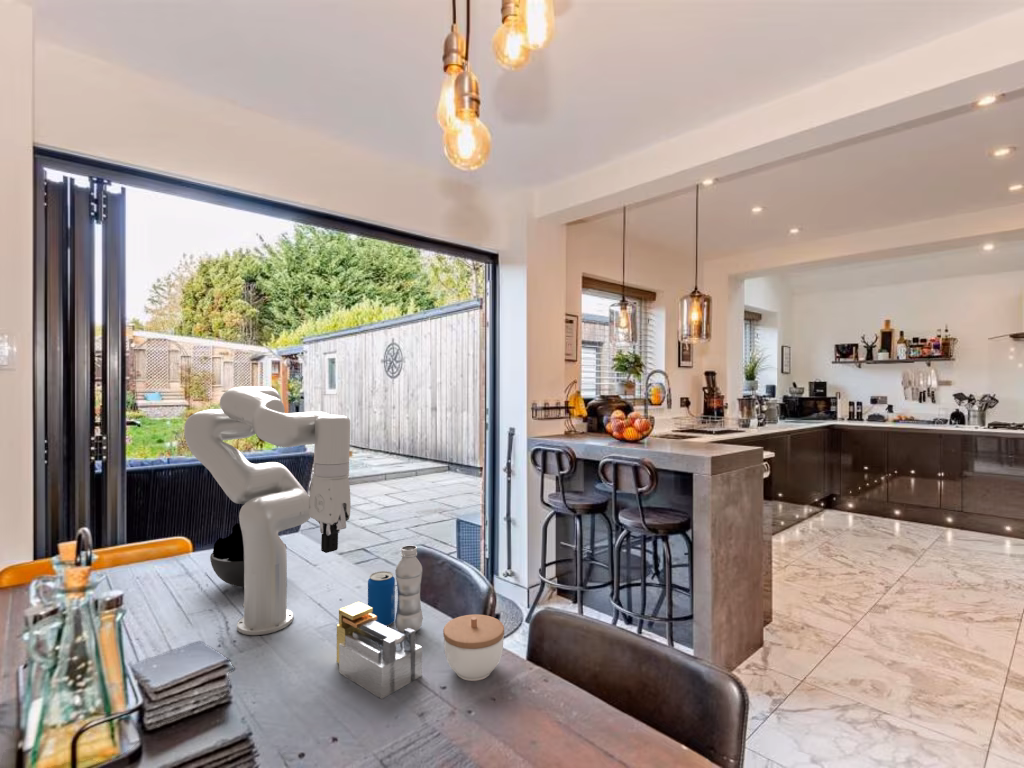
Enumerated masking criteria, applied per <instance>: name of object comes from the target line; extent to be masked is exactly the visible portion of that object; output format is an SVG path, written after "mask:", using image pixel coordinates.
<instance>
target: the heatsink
mask: <svg viewBox="0 0 1024 768" xmlns="http://www.w3.org/2000/svg"><path fill="white" fill-rule="evenodd" d="M403 634H404V635H405V634H407V636H408V639H407V640H405V641H403V642H400V643H398V644H396V645H395V640H393V639H390V638H386V639H383V640H382V639H380V638H378V637H376V636H374V635H372V634H370V633H368V632H366V631H364V630H362V629H360V633H358V632H356V631H354V632H353V637H352V636H350V635H345V642H343V643H340V644H339V663H338V665H339V666H338V668H339V669H338V673H339V674H340V675H342V676H343V677H345V678H347V679H348V680H350V681H352V682H353V683H354V684H357V685H358V686H360V687H362V688H363V689H365V690H366V691H368V692H369V693H372V694H373V695H374V696H376V697H377V698H379V699H381V700H383V699H385V698H386V697H388V696H390V695H391V694H393V693H395V692H397V691H398V690H400V689H402V688H404V687H405V686H407V685H409V684H410V683H412V682H414V681H415V680H418V679H419V678H421V677H422V676H423V646H421V645H420V644H417V643H416V632H415V630H413V629H411V628H407V629H405V630H404V633H403Z"/></svg>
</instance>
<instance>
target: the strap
mask: <svg viewBox="0 0 1024 768" xmlns="http://www.w3.org/2000/svg"><path fill="white" fill-rule="evenodd" d="M375 620H377V616H376V615H374V614H371V613H369V614H367V615H364V616H362V617H359V618H357V619H355V620H351V619H349V618H347V617H343V622H345V623H347V624H349V625H351V626H353V627H355V628H360V629H362V630H364V631H366V632H368V633H370V634H372V635H374V636H376V637H378V638H380V639H382V640H383V639H386V638H390V639H393V640H395V645H396V644H398V643H400V642H403V641H405V640H407V639H408V636H407V634H405V635H404V633H401V632H399V631H398V630H397V629H393V628H391V627H390V626H388V627H387V626H385V625H383V624H381V623H379V622H376V621H375Z"/></svg>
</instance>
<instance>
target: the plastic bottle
mask: <svg viewBox="0 0 1024 768" xmlns="http://www.w3.org/2000/svg"><path fill="white" fill-rule="evenodd" d="M417 550H418V546H416V545H411V544H410V545H404V546H402V547H401V553H400V557H401V559H400V560H399V562H398V564H397V565H396V567H395V582H396V588H397V589H396V591H397V605H396V611H395V620H394V623H395V628H396V630H397V631H398V632H400V633H402V634H404V630H405V629H407V628H411V629H413V630H415V633H416V632H418V631H420V628H421V627H422V626H423V619H424V617H423V611H422V604H421V603H422V602H421V584H422V576H423V566H422V563H421V562H420V560H419V559H418V558H417V556H418V552H417Z"/></svg>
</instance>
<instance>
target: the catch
mask: <svg viewBox="0 0 1024 768" xmlns="http://www.w3.org/2000/svg"><path fill="white" fill-rule="evenodd" d="M372 612H373V608H372V607H370V606H368V604H365V603H363V602H360V601H357V602H354V603H352V604H348V605H346V606H344V607H341V608H338V624H337V625H336V663H337V662H338V663H337V664H339V644H340V643H343V642H345V635H350V636H352V637H353V632H354V631H356V632H358V633H360V628H355V627H353V626H351V625H349V624H347V623H345V622H343V617H347V618H349V619H351V620H355V619H357V618H359V617H362V616H364V615H367V614H369V613H372Z"/></svg>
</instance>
